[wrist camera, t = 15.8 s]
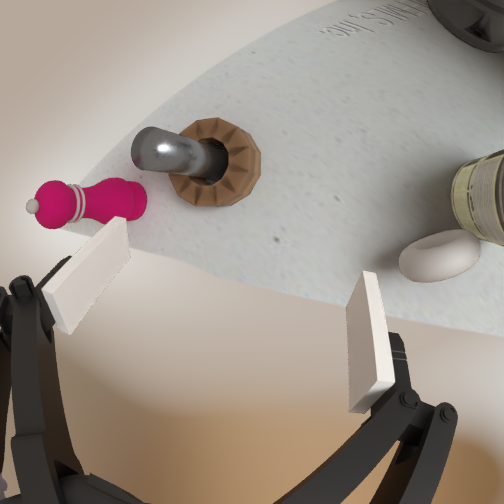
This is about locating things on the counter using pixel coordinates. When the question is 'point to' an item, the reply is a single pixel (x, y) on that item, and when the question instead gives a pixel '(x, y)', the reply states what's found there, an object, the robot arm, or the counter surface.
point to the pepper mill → (87, 202)
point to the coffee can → (481, 197)
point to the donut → (440, 256)
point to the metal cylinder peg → (177, 154)
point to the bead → (236, 176)
